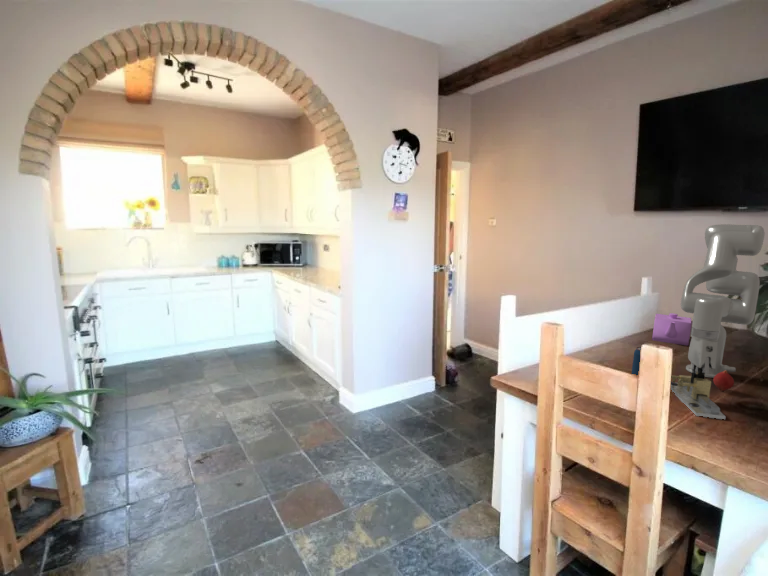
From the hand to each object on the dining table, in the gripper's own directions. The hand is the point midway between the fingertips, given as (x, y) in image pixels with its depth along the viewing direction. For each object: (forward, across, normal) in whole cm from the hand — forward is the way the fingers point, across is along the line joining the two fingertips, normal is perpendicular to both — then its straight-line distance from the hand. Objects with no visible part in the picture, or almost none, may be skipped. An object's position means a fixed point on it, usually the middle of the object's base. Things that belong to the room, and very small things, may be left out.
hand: (696, 384), depth 142 cm
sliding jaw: (+4, -3, +2) cm, 5 cm away
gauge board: (+5, -2, +1) cm, 6 cm away
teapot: (+5, +77, -17) cm, 79 cm away
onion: (+5, +11, -12) cm, 17 cm away
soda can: (+5, +15, +12) cm, 20 cm away
